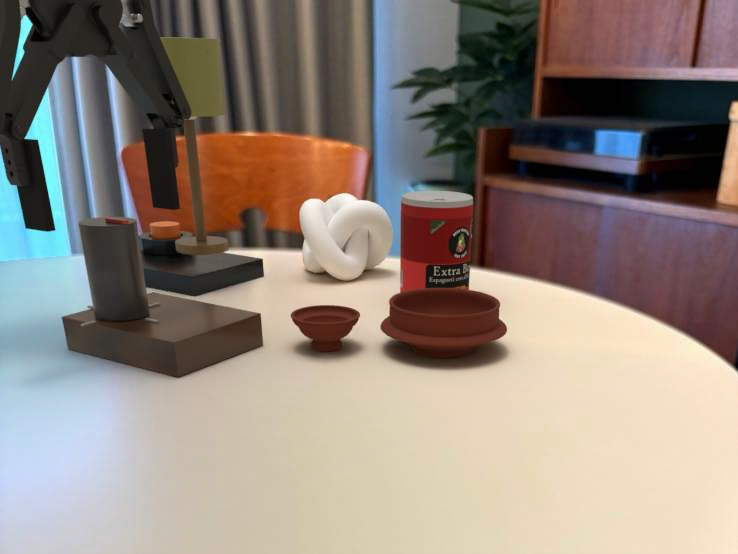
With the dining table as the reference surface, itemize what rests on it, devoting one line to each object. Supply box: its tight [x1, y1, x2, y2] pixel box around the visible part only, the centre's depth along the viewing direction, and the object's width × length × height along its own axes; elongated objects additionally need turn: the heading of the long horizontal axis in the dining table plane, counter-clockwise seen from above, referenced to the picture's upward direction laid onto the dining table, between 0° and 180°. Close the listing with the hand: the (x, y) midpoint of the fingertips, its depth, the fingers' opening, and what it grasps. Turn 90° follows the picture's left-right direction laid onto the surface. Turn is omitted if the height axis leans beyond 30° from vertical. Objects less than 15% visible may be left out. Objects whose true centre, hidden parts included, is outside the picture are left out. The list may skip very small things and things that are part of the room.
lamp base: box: [138, 230, 265, 297], centre depth 100 cm, size 16×12×4 cm
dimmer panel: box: [61, 291, 264, 378], centre depth 76 cm, size 14×12×3 cm
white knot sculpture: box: [299, 192, 394, 282], centre depth 101 cm, size 11×12×9 cm
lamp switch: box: [149, 220, 182, 238], centre depth 103 cm, size 4×4×2 cm
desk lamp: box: [160, 36, 230, 255], centre depth 91 cm, size 8×8×21 cm
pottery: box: [290, 288, 508, 359], centre depth 77 cm, size 12×20×4 cm, turn 90°
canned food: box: [399, 190, 474, 293], centre depth 90 cm, size 8×8×11 cm
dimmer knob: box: [77, 216, 150, 321], centre depth 73 cm, size 5×5×8 cm
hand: (108, 218), depth 71 cm, fingers open, 13 cm apart
